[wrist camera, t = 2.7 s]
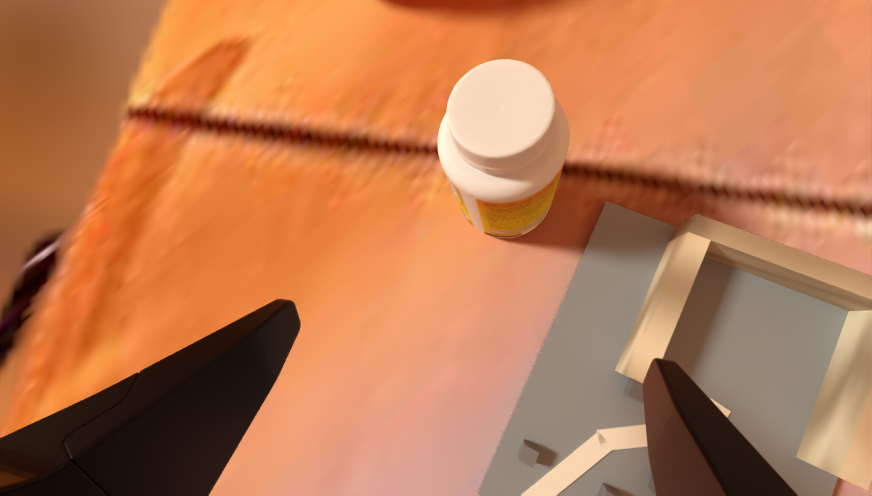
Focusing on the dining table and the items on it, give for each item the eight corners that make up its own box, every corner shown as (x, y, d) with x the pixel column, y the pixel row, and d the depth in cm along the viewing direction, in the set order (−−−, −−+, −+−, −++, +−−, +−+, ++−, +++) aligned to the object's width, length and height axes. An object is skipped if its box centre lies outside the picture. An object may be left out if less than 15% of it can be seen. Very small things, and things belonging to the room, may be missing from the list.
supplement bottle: (571, 187, 23) (615, 86, 13) (512, 259, 23) (512, 210, 13) (497, 138, 25) (488, 14, 15) (442, 205, 24) (395, 124, 15)
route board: (760, 661, 17) (784, 694, 16) (478, 489, 21) (476, 502, 19) (886, 308, 19) (919, 307, 17) (604, 204, 22) (611, 195, 21)
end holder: (819, 468, 18) (868, 491, 15) (614, 370, 20) (628, 376, 18) (879, 301, 19) (934, 298, 16) (675, 226, 21) (696, 213, 19)
